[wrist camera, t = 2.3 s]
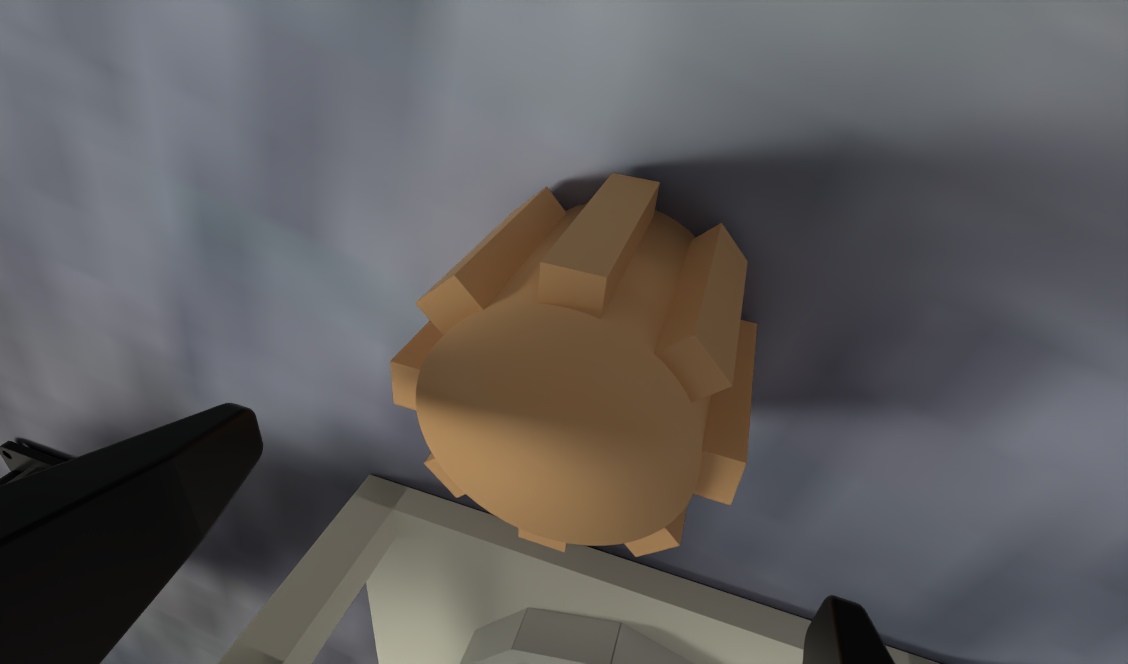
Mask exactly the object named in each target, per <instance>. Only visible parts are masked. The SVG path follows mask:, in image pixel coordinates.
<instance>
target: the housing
mask: <svg viewBox="0 0 1128 664" xmlns="http://www.w3.org/2000/svg"><path fill="white" fill-rule="evenodd" d="M518 532H519V528H518V527H515V526H513V525H511V524H509V523H507V522H505V521H504V520H502V519H500V518H498V517H497V516H494V515H491V514H488V513H485V512H482V511H479V510H476V509H472V508H469V507H466V506H463V505H460V504H457V503H454V502H451V501H448V500H445V499H442V498H439V497H436V496H433V495H430V494H427V493H424V492H421V491H418V490H415V489H412V488H409V487H406V486H403V485H400V484H397V483H394V482H391V481H388V480H385V479H382V478H379V477H376V476H373V475H370V474H369V476H368V477H367V478H366V479H365V481H364V482H363V483H362V484H361V486H360V487H359V488H358V489H357V491H356V492H355V493H354V494H353V496H352V497H351V498H350V499H349V501H348V502H347V503H346V504H345V506H344V507H343V508H342V509H341V510H340V512H339V513H338V514H337V515H336V517H335V518H334V519H333V520H332V522H331V523H330V524H329V525H328V527H327V528H326V529H325V530H324V532H323V533H322V534H321V535H320V537H319V538H318V539H317V540H316V542H315V543H314V544H313V545H312V547H311V548H310V549H309V550H308V551H307V553H306V554H305V555H304V556H303V558H302V559H301V560H300V561H299V563H298V564H297V565H296V566H295V568H294V569H293V570H292V571H291V573H290V574H289V575H288V576H287V578H286V579H285V580H284V581H283V583H282V584H281V585H280V586H279V587H278V589H277V590H276V591H275V592H274V594H273V595H272V596H271V597H270V599H269V600H268V601H267V602H266V604H265V605H264V606H263V607H262V609H261V610H260V611H259V612H258V614H257V615H256V616H255V617H254V619H253V620H252V621H251V622H250V623H249V625H248V626H247V627H246V628H245V630H244V631H243V632H242V633H241V635H240V636H239V637H238V638H237V640H236V641H235V642H234V643H233V645H232V646H231V647H230V648H229V650H228V651H227V652H226V653H225V655H224V656H223V657H222V658H221V659H220V661H219V662H218V663H217V664H311V663H312V662H313V660H314V659H315V657H316V656H317V654H318V653H319V651H320V650H321V648H322V647H323V645H324V644H325V642H326V641H327V640H328V638H329V637H330V635H331V634H332V632H333V631H334V629H335V628H336V626H337V625H338V623H339V622H340V620H341V619H342V617H343V616H344V614H345V613H346V611H347V610H348V608H349V607H350V605H351V604H352V602H353V601H354V599H355V598H356V596H357V595H358V593H359V592H360V590H361V589H362V587H363V586H364V584H365V583H366V585H367V591H368V597H369V604H370V610H371V617H372V623H373V629H374V636H375V642H376V649H377V655H378V661H379V664H802V663H803V650H804V641H805V635H806V632H807V629H808V627H809V625H810V623H811V622H812V621H810V620H807V619H804V618H801V617H798V616H795V615H792V614H789V613H786V612H783V611H780V610H777V609H774V608H771V607H768V606H765V605H762V604H759V603H756V602H753V601H750V600H747V599H744V598H741V597H738V596H735V595H732V594H729V593H726V592H723V591H720V590H717V589H714V588H711V587H708V586H705V585H702V584H699V583H696V582H693V581H690V580H687V579H684V578H681V577H678V576H675V575H671V574H668V573H665V572H662V571H659V570H656V569H653V568H650V567H647V566H644V565H641V564H638V563H635V562H632V561H629V560H626V559H623V558H620V557H617V556H614V555H611V554H608V553H605V552H602V551H599V550H596V549H593V548H590V547H587V546H584V545H577V544H569V543H568V545H567V547H566V550H565V552H562V551H559V550H556V549H553V548H550V547H547V546H544V545H541V544H538V543H535V542H532V541H529V540H526V539H523V538H520V537H518ZM885 646H886V645H885ZM886 648H887V650H888V651H889V653H890V655H891V657H892V659H893V660H894V662H895V664H940V663H937V662H934V661H931V660H928V659H925V658H922V657H919V656H916V655H913V654H910V653H907V652H904V651H901V650H898V649H895V648H892V647H889V646H886Z"/></svg>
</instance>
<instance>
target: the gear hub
mask: <svg viewBox="0 0 1128 664" xmlns="http://www.w3.org/2000/svg"><path fill="white" fill-rule="evenodd" d="M659 186H660V182H656V181H651V180H646V179H641V178H636V177H631V176H626V175H621V174H616V173H612V174H611V175H610V176H609V177H608V179H607V180H606V181H605V182H604V184H603V185H602V186H601V187H600V189H599V190H598V191H597V192H596V194H595V195H594V196H593V197H592V198H591V200H590V201H589V202H588V203H586V204H582V205H578V206H575V207H573V208H570V209H568V210H566V211H565V210H564V209H563V208H562V206H561V205H560V203H559V202H558V201H557V199H556V198H555V197H554V195H553V194H552V193H551V191H550V190H549V189H548V187H545V188H544V189H543V190H541V191H540V192H539V193H537V194H536V195H535V196H533V197H532V198H531V199H529V200H528V201H527V202H525V203H524V204H523V205H521V206H520V207H519V208H517V209H516V210H515V211H514V212H513V213H511V214H510V215H509V216H508V217H507V218H506V219H505V220H504V221H503V222H502V223H501V224H500V225H499V226H498V227H496V228H495V229H494V230H493V231H492V232H491V233H490V234H489V235H488V236H487V237H486V238H485V239H484V240H482V241H481V242H480V243H479V244H478V245H477V246H476V247H475V248H474V249H473V250H472V251H471V252H470V253H469V254H467V255H466V256H465V257H464V258H463V259H462V260H461V261H460V262H459V263H458V264H457V265H456V266H455V267H454V268H452V269H451V270H450V271H449V272H448V273H447V274H446V275H445V276H444V277H443V278H442V279H441V280H440V281H438V282H437V283H436V284H435V285H434V286H433V287H432V288H431V289H430V290H429V291H428V292H427V293H426V294H425V295H423V296H422V297H421V298H420V299H419V300H418V301H417V302H416V303H415V304H416V305H417V306H418V307H419V308H420V309H421V310H422V312H423V313H424V314H425V315H426V316H427V317H428V319H429V320H430V321H429V322H428V323H427V324H426V325H425V326H424V327H423V328H422V329H421V330H420V331H419V332H418V333H417V334H416V335H415V336H414V337H413V338H412V340H411V341H410V342H409V343H408V344H407V345H406V346H405V347H404V348H403V349H402V350H401V351H400V352H399V353H398V354H397V355H396V356H395V357H394V358H393V359H392V360H391V361H390V365H391V376H392V388H393V399H394V404H397V405H400V406H403V407H407V408H410V409H413V410H417V416H418V420H419V423H420V427H421V431H422V433H423V435H424V438H425V440H426V443H427V445H428V447H429V448H430V450H431V452H432V453H431V454H430V456H429V457H428V458H427V460H426V461H425V463H424V464H425V465H426V466H427V467H428V468H429V469H430V470H431V472H432V473H433V474H434V475H435V476H436V477H437V478H438V479H439V480H440V481H441V482H442V483H443V484H444V485H445V486H446V487H447V488H448V489H449V491H450V492H451V493H452V494H453V495H454V496H455V497H456V498H458V497H460V496H463V495H465V494H466V495H468V496H469V497H470V498H471V499H473V500H474V501H475V502H476V503H477V504H479V505H480V506H481V507H483V508H484V509H486V510H487V511H489V512H490V513H492V514H493V515H495V516H497V517H498V518H500V519H502V520H504V521H505V522H507V523H509V524H511V525H513V526H515V527H518V528H519V532H518V537H520V538H523V539H526V540H529V541H532V542H535V543H538V544H541V545H544V546H547V547H550V548H553V549H556V550H559V551H562V552H565V550H566V547H567V545H568V543H569V544H577V545H587V546H606V545H616V544H623V543H624V544H625V545H626V546H627V548H628V549H629V550H630V551H631V552H632V553H633V554H634V556H635V557H638V556H642V555H646V554H650V553H654V552H658V551H662V550H665V549H669V548H673V547H677V546H680V543H681V538H682V532H683V526H684V521H685V515H686V510H687V504H688V503H689V501H690V500H691V497H692V495H693V494H695V495H698V496H702V497H705V498H708V499H711V500H715V501H718V502H721V503H725V504H728V505H731V503H732V500H733V498H734V495H735V492H736V490H737V487H738V485H739V482H740V479H741V477H742V474H743V472H744V469H745V466H746V464H747V452H748V439H749V426H750V412H751V399H752V386H753V373H754V359H755V346H756V333H757V323H752V322H748V321H744V320H741V312H742V304H743V296H744V288H745V280H746V272H747V263H748V261H747V260H746V258H745V257H744V255H743V254H742V252H741V251H740V249H739V248H738V246H737V245H736V243H735V242H734V240H733V239H732V237H731V236H730V234H729V233H728V231H727V230H726V228H725V227H724V225H723V224H722V223H720V224H718V225H717V226H715V227H713V228H712V229H710V230H708V231H706V232H705V233H703V234H701V235H699V236H698V237H695V236H694V235H693V234H692V233H691V232H690V231H689V230H688V229H687V228H685V227H684V226H683V225H681V224H680V223H679V222H677V221H676V220H674V219H672V218H671V217H669V216H667V215H665V214H664V213H662V212H659V211H657V210H655V207H656V201H657V196H658V191H659Z"/></svg>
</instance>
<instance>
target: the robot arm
mask: <svg viewBox="0 0 1128 664" xmlns="http://www.w3.org/2000/svg"><path fill="white" fill-rule="evenodd" d="M262 451H263V442H262V438H261V434H260V430H259V426H258V422H257V418H256V415H255V413H254V412H253V411H252V410H251V409H250V408H247V407H244V406H241V405H237V404H234V403H225V404H222V405H219V406H216V407H213V408H211V409H208V410H205V411H203V412H200V413H197V414H194V415H192V416H189V417H186V418H183V419H181V420H178V421H175V422H173V423H170V424H167V425H164V426H162V427H159V428H156V429H154V430H151V431H148V432H145V433H143V434H140V435H137V436H134V437H132V438H129V439H126V440H124V441H121V442H118V443H115V444H113V445H110V446H107V447H104V448H102V449H99V450H96V451H94V452H91V453H88V454H85V455H83V456H80V457H77V458H74V459H72V460H69V461H63V460H60V459H58V458H55V457H52V456H50V455H47V454H44V453H41V452H39V451H36V450H33V449H31V448H28V447H25V446H23V445H20V444H17V443H14V442H12V441H7V442H6V443H4V444H2V445H1V446H0V454H1V456H2V458H3V459H4V461H5V463H6V464H7V466H8V467H9V469H10V471H11V472H10V473H8V474H7V475H5V476H4V477H2V478H0V664H100V663H101V662H102V661H103V659H104V658H105V657H106V656H107V655H108V653H109V652H110V651H111V650H112V649H113V647H114V646H115V645H116V644H117V643H118V641H119V640H120V639H121V638H122V637H123V635H124V634H125V633H126V632H127V631H128V629H129V628H130V627H131V626H132V625H133V623H134V622H135V621H136V620H137V619H138V618H139V616H140V615H141V614H142V613H143V612H144V610H145V609H146V608H147V607H148V606H149V604H150V603H151V602H152V601H153V600H154V598H155V597H156V596H157V595H158V594H159V592H160V591H161V590H162V589H163V588H164V586H165V585H166V584H167V583H168V582H169V580H170V579H171V578H172V577H173V576H174V574H175V573H176V572H177V571H178V570H179V568H180V567H181V566H182V565H183V564H184V562H185V561H186V560H187V559H188V558H189V557H190V555H191V554H192V553H193V552H194V550H195V549H196V548H197V547H198V545H199V544H200V543H201V542H202V540H203V539H204V538H205V536H206V535H207V534H208V532H209V531H210V530H211V528H212V527H213V526H214V524H215V523H216V521H217V520H218V518H219V517H220V515H221V514H222V512H223V511H224V510H225V508H226V507H227V505H228V504H229V502H230V501H231V499H232V498H233V497H234V495H235V494H236V492H237V491H238V489H239V488H240V486H241V485H242V483H243V482H244V481H245V479H246V478H247V476H248V475H249V473H250V472H251V470H252V469H253V468H254V466H255V465H256V463H257V462H258V460H259V458H260V456H261V454H262ZM802 664H895V662H894V660H893V659H892V657H891V655H890V653H889V651H888V650H887V648H886V646H885V644H884V643H883V641H882V639H881V637H880V635H879V634H878V632H877V630H876V628H875V626H874V625H873V623H872V621H871V619H870V618H869V616H868V614H867V612H866V611H865V609H864V608H863V607H862V606H861V605H860V604H858V603H856V602H853V601H850V600H847V599H843V598H840V597H837V596H833V595H831V596H828V597H827V598H826V599H825V600H824V601H823V603H822V605H821V606H820V608H819V610H818V611H817V613H816V615H815V616H814V618H813V620H812V622H811V623H810V625H809V627H808V629H807V632H806V635H805V641H804V650H803V663H802Z"/></svg>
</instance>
